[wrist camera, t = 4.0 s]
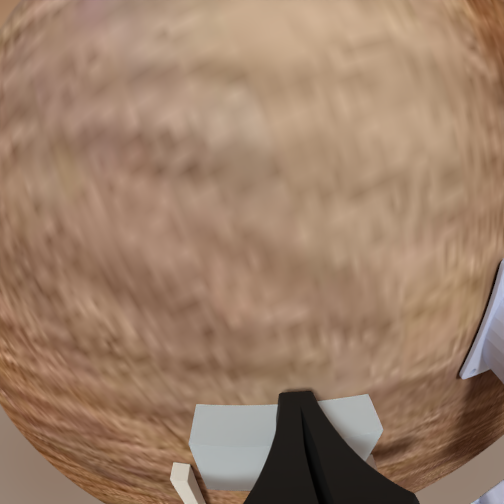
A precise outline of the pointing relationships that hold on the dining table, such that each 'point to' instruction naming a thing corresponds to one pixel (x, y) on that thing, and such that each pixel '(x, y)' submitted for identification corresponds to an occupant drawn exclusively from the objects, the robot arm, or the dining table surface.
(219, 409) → the light gray box
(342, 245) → the dining table surface
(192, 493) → the cream u-shaped bracket
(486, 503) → the robot arm
